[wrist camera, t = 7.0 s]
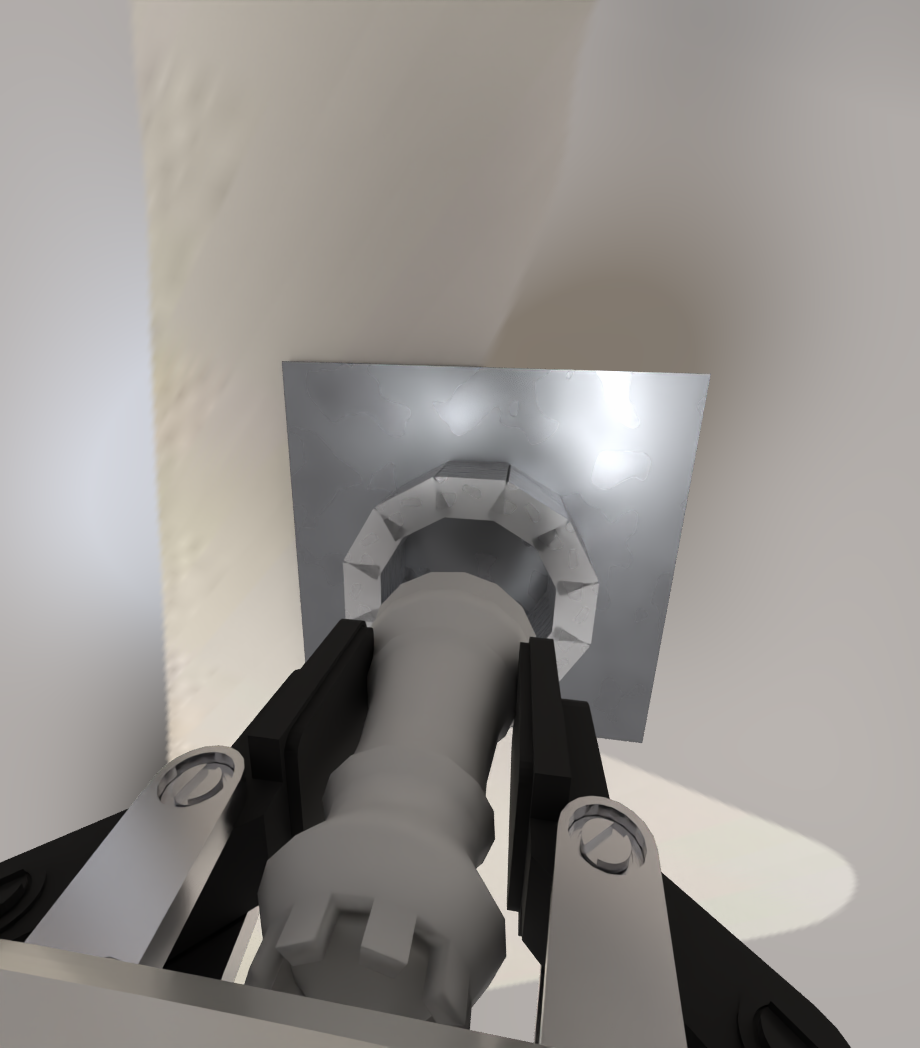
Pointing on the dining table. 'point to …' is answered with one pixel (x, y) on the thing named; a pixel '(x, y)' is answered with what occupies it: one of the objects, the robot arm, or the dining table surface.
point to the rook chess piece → (405, 820)
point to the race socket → (501, 503)
